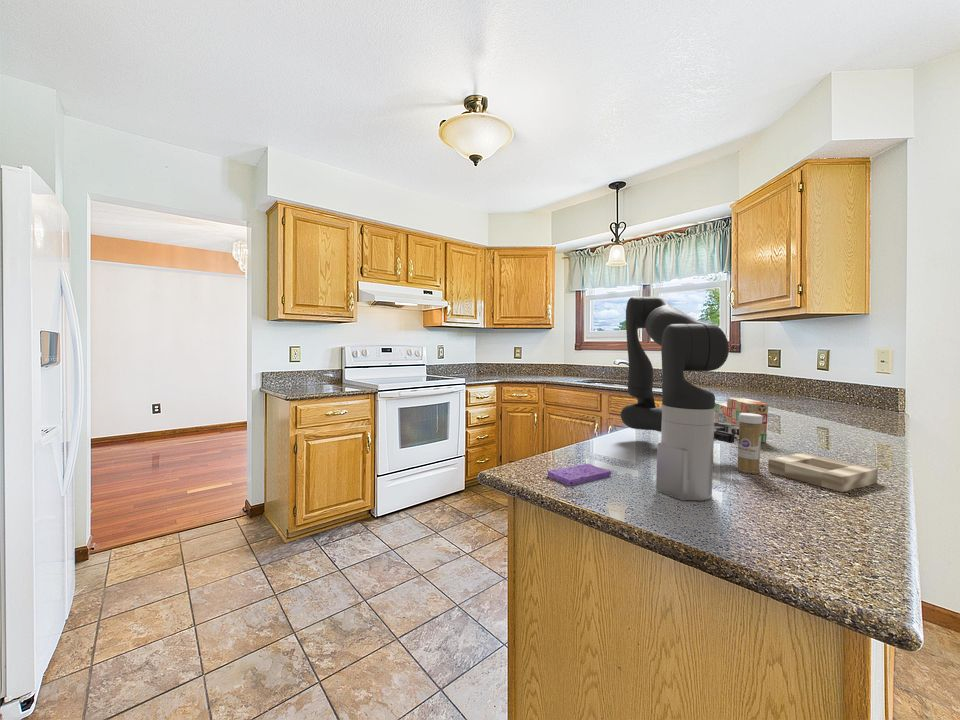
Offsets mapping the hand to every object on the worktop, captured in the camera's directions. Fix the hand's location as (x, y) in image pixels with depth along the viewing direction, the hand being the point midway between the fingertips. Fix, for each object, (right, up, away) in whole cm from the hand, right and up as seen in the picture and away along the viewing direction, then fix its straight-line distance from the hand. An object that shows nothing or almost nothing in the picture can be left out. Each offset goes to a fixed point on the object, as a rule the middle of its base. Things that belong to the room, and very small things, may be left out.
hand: (745, 437), depth 95 cm
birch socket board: (+14, -8, -4) cm, 17 cm away
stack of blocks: (+23, -7, +39) cm, 45 cm away
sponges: (-40, -8, -5) cm, 42 cm away
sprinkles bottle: (0, -8, 0) cm, 8 cm away
